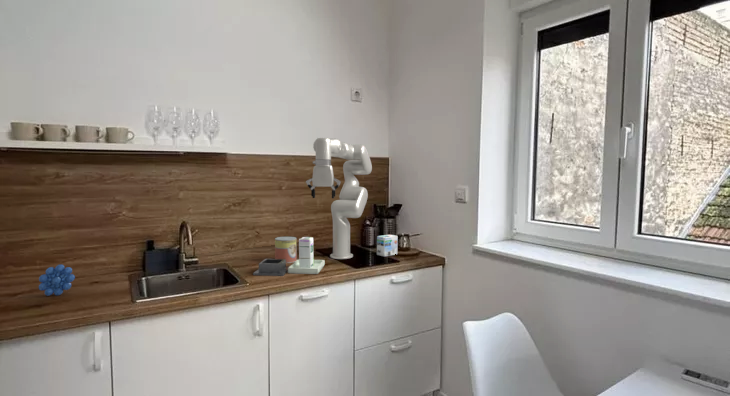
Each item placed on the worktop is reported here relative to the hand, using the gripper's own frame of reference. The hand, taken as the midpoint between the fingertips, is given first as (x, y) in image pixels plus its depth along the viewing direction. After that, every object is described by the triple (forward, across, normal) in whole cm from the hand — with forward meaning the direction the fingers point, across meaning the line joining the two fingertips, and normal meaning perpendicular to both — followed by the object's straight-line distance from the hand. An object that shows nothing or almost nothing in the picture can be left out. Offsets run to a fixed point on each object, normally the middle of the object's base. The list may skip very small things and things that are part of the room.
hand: (323, 198), depth 203 cm
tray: (+34, -7, -6) cm, 36 cm away
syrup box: (+34, -7, -6) cm, 35 cm away
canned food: (+35, -22, +10) cm, 42 cm away
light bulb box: (+35, +31, +31) cm, 56 cm away
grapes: (+34, -94, -55) cm, 114 cm away
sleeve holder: (+34, -22, -13) cm, 43 cm away
